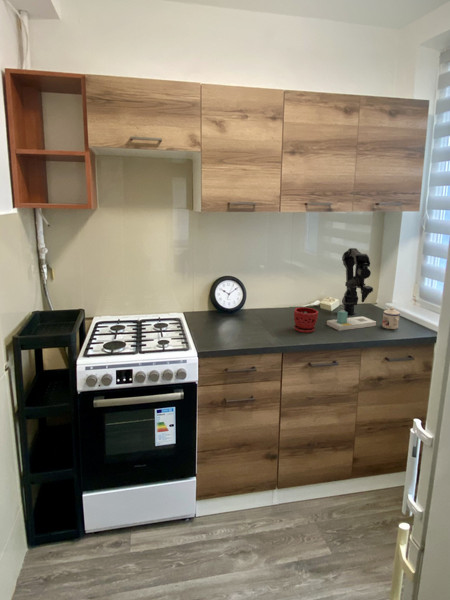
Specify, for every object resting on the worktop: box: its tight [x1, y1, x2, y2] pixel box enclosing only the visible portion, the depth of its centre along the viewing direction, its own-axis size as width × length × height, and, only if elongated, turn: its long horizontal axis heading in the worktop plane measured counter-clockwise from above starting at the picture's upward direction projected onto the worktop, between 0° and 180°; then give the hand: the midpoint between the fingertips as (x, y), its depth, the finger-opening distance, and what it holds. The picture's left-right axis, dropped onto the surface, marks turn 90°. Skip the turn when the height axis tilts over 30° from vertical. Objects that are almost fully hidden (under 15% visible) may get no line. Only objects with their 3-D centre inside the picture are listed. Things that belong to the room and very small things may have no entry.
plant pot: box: [293, 306, 319, 334], centre depth 236 cm, size 13×13×12 cm
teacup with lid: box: [382, 307, 401, 330], centre depth 242 cm, size 12×9×12 cm
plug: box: [336, 309, 349, 324], centre depth 244 cm, size 4×4×10 cm
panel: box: [326, 316, 377, 332], centre depth 247 cm, size 12×26×3 cm, turn 111°
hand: (357, 300), depth 253 cm, fingers open, 9 cm apart
